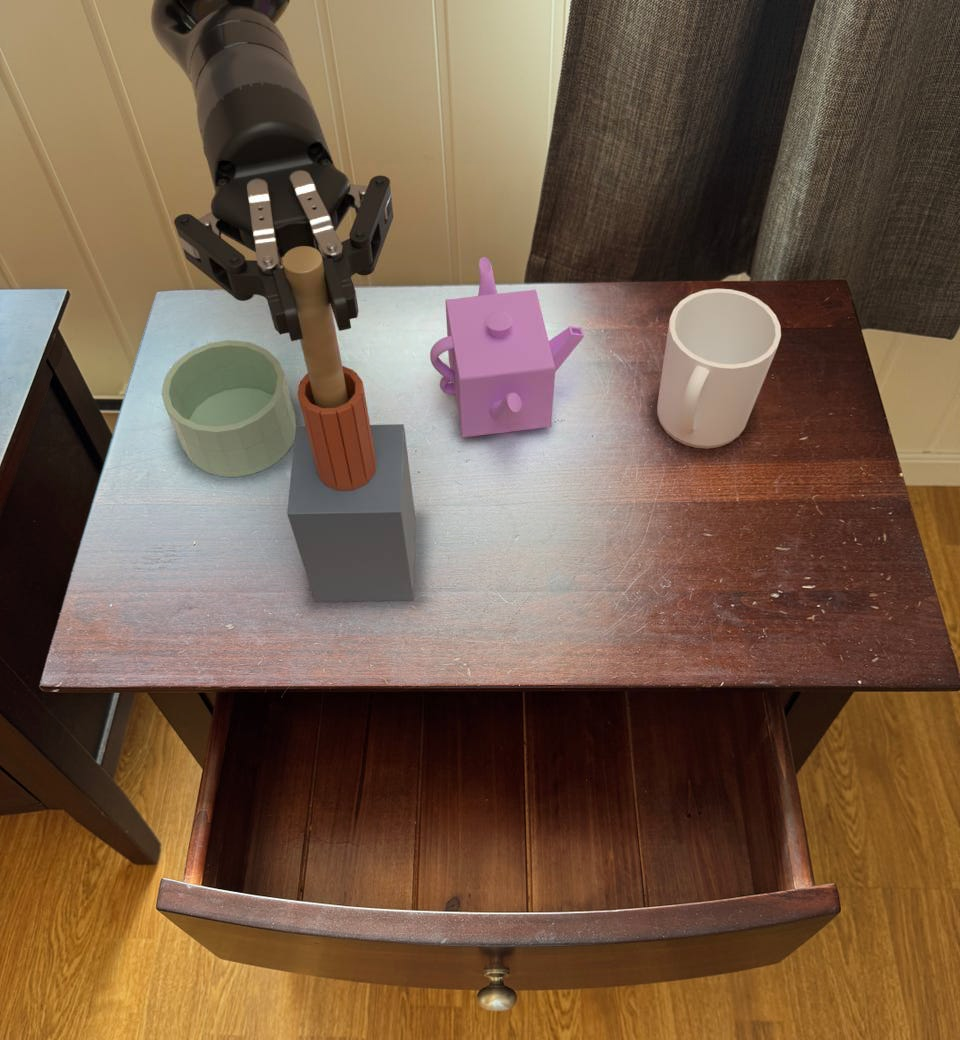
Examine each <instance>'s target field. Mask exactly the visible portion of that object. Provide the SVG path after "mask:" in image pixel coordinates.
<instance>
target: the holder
mask: <svg viewBox="0 0 960 1040" xmlns="http://www.w3.org/2000/svg"><path fill="white" fill-rule="evenodd" d="M342 368H343V373H344V379H345V384H346V390H347V395H348V400H349V401H348V403H345V404H343V405H341V406H339V407H336V408H321V407H318V406H316V405H315V402H314V398H313V394H312V389H311V385H310V381H309V376H308V372H307V373H306V374H305V375H304V376H303V377H302V379H301V380H300V381H299V383H298V385H297V399H298V403H299V407H300V412H301V415H302V418H303V423H304V425H296V431H295V438H294V441H293V453H292V460H291V470H290V471H291V472H290V482H289V492H288V493H289V494H288V499H287V500H288V502H287V511H286V514H287V518H288V522H289V524H290V528H291V531H292V534H293V538H294V540H295V543H296V547H297V550H298V552H299V556H300V559H301V562H302V565H303V569H304V571H305V575H306V578H307V581H308V584H309V587H310V590H311V594H312V596H313V599H314V602H315V603H333V602H336V603H337V602H338V603H340V602H382V601H383V602H388V601H414V599H415V571H416V569H415V565H416V564H415V563H416V527H417V526H416V524H417V523H416V522H417V518H416V511H415V504H414V496H413V487H412V479H411V473H410V472H411V471H410V464H409V456H408V455H409V454H408V447H407V438H406V431H405V430H406V429H405V424H403V423H401V424H400V423H396V424H394V423H393V424H371V422H370V417H369V411H368V410H369V409H368V404H367V398H366V391H365V386H364V382H363V380H362V378H361V377H360V376H359V374H358V373H357V372H356V371H355V370H354V369H352V368H349V367H347V366H344V365H342Z"/></svg>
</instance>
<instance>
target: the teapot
mask: <svg viewBox="0 0 960 1040" xmlns="http://www.w3.org/2000/svg"><path fill="white" fill-rule="evenodd" d="M478 273H479V285H478V295H475V296H467V297H466V296H465V297H458V298H447V299H445V300H444V301H445V302H444V303H445V317H446V333H447V335H446V336H445V337H442V338H440V339H438V340H437V341H436V342H435V343H434V344H433V345H432V347H431V349H430V353H429V358H430V359H429V360H430V363H431V365H432V366H433V368H434V369H435V370H436V371H437V372H438V373H439V375H441V376H442V377H441V378H440V381H439V387H440V390H441V392H443V393H444V394H445V395H448V396H449V395H451V396H452V395H453V396H454V399H455V405H456V409H457V416H458V421H459V426H460V433H461V437H462V438H467V437H468V438H469V437H478V436H484V435H492V434H493V435H494V434H501V433H510V432H511V433H512V432H518V431H525V430H526V431H527V430H535V429H543V428H544V429H545V428H552V422H553V421H552V419H553V409H554V408H553V407H554V406H553V405H554V393H555V392H554V391H555V379H556V372H557V371H558V370H559V369H560V367H561V366H562V365H563V364H564V362H566V360H567V359H568V357H569V356H570V355H571V354H572V353H573V352H574V350H575V349H576V348H577V347H578V345H579V344H580V342H582V339H583V340H584V337H585V333H584V329H583V327H580V326H570V325H569V326H568V327H567V328H566V329H564V330H562V331H561V332H560V333H558V334H557V335H555V336H554V337H552V338H551V339H549V337H548V333H547V328H546V325H545V320H544V318H543V311H542V309H541V304H540V300H539V296H538V292H537V290H536V289H529V290H519V291H510V292H509V291H508V292H502V293H498V290H497V286H496V282H495V278H494V271H493V266H492V263H491V261H490V260H489V258H487V257H486V256H482V257H481V258H480V259H479V261H478ZM447 351H448V352H447ZM445 352H447V353H448V363H449V365H447V364H446V363H445V362H443V361H442V359H440V356H441V355H442V354H443V353H445Z"/></svg>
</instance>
